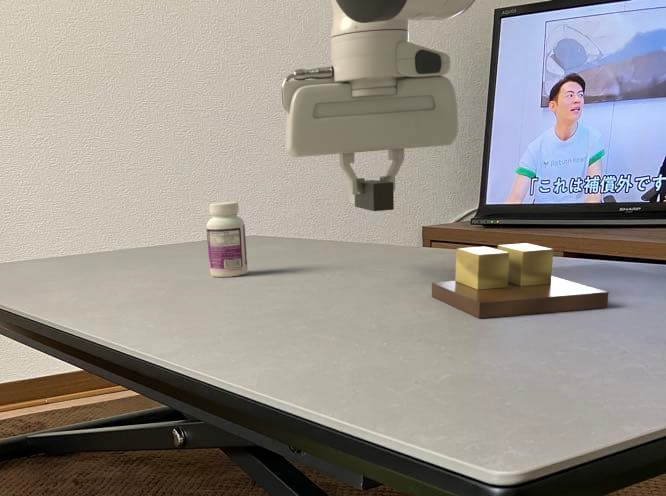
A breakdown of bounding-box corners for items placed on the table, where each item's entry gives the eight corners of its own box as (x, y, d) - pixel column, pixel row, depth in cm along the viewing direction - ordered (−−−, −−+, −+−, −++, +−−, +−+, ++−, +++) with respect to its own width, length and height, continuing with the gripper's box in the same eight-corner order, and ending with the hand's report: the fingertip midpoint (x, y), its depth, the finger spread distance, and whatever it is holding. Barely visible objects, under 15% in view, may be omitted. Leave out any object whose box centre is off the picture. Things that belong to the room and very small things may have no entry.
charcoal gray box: (393, 209, 105) (393, 180, 103) (373, 211, 104) (373, 181, 103) (359, 202, 121) (358, 176, 120) (341, 203, 121) (341, 178, 120)
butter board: (543, 287, 102) (546, 241, 100) (607, 307, 88) (612, 254, 86) (431, 296, 100) (432, 249, 98) (478, 318, 87) (481, 264, 85)
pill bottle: (220, 272, 131) (214, 201, 128) (253, 272, 129) (249, 200, 126) (203, 277, 127) (197, 204, 123) (238, 277, 125) (233, 203, 121)
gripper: (284, 67, 100) (291, 201, 105) (464, 55, 101) (461, 187, 107) (276, 72, 105) (283, 198, 111) (446, 61, 107) (445, 185, 113)
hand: (372, 193), depth 109 cm, fingers closed on charcoal gray box, 2 cm apart
